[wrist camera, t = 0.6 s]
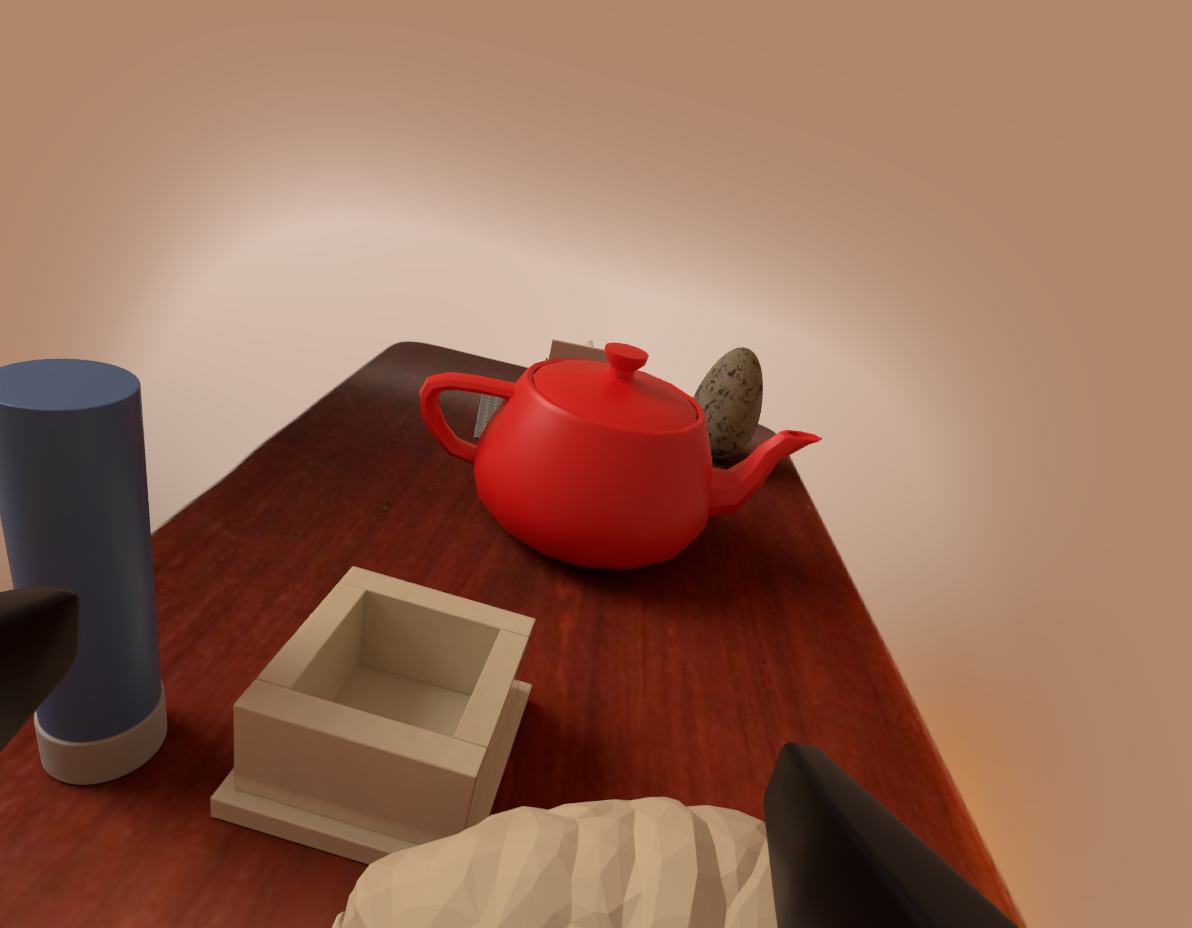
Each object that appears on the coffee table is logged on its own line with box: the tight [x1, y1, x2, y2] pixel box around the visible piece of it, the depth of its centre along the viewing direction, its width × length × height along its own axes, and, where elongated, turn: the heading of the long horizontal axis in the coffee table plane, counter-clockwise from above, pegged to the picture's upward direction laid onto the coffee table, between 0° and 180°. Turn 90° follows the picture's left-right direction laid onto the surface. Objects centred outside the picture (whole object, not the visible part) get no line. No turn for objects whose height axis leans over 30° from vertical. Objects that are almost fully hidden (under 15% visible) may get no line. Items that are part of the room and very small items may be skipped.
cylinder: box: [0, 359, 167, 785], centre depth 22 cm, size 4×4×14 cm
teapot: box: [419, 343, 822, 570], centre depth 43 cm, size 25×16×12 cm, turn 90°
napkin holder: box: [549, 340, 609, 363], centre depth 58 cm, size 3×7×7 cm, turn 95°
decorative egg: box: [693, 348, 763, 459], centre depth 58 cm, size 6×6×10 cm
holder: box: [210, 566, 536, 865], centre depth 26 cm, size 9×9×5 cm
